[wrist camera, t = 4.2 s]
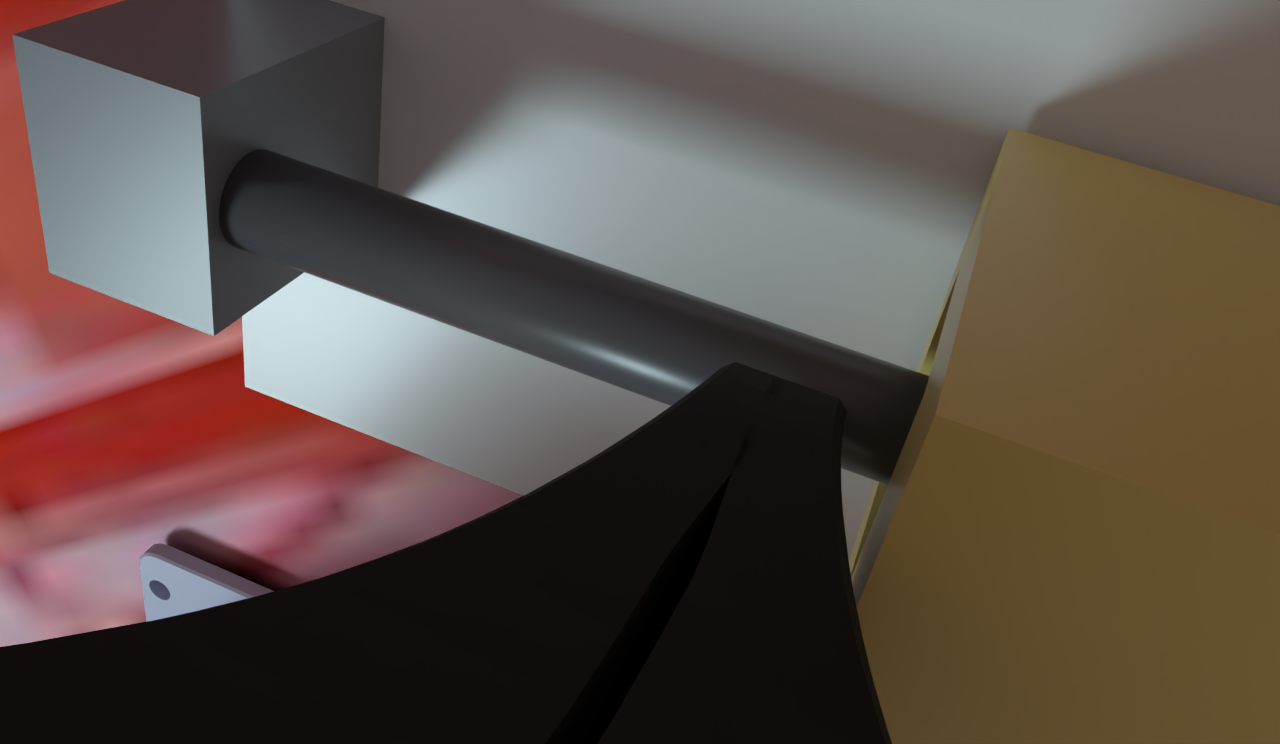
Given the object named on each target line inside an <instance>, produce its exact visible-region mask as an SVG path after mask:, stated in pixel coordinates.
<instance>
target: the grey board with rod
mask: <svg viewBox="0 0 1280 744" xmlns="http://www.w3.org/2000/svg"><path fill="white" fill-rule="evenodd" d="M13 41H14V47H15V53H16V60H17V66H18V73H19V79H20V86H21V92H22V99H23V105H24V111H25V118H26V124H27V131H28V137H29V144H30V150H31V157H32V163H33V170H34V176H35V182H36V189H37V195H38V202H39V208H40V215H41V221H42V228H43V234H44V240H45V247H46V253H47V260H48V266H49V273H52V274H54V275H57V276H59V277H62V278H65V279H67V280H70V281H72V282H75V283H78V284H80V285H83V286H85V287H88V288H91V289H93V290H96V291H98V292H101V293H104V294H106V295H109V296H111V297H114V298H116V299H119V300H122V301H124V302H127V303H129V304H132V305H135V306H137V307H140V308H142V309H145V310H148V311H150V312H153V313H155V314H158V315H161V316H163V317H166V318H168V319H171V320H174V321H176V322H179V323H181V324H184V325H187V326H189V327H192V328H194V329H197V330H200V331H202V332H205V333H207V334H210V335H213V336H215V335H216V334H218V333H219V332H220V331H222V330H223V329H225V328H226V327H227V326H229V325H230V324H232V323H233V322H235V321H236V320H237V319H239V318H240V317H242V323H243V347H244V371H245V387H248V388H250V389H253V390H255V391H258V392H261V393H263V394H266V395H268V396H271V397H273V398H276V399H278V400H281V401H283V402H286V403H288V404H291V405H294V406H296V407H299V408H301V409H304V410H306V411H309V412H311V413H314V414H316V415H319V416H322V417H324V418H327V419H329V420H332V421H334V422H337V423H339V424H342V425H344V426H347V427H349V428H352V429H355V430H357V431H360V432H362V433H365V434H367V435H370V436H372V437H375V438H377V439H380V440H383V441H385V442H388V443H390V444H393V445H395V446H398V447H400V448H403V449H405V450H408V451H410V452H413V453H416V454H418V455H421V456H423V457H426V458H428V459H431V460H433V461H436V462H438V463H441V464H444V465H446V466H449V467H451V468H454V469H456V470H459V471H461V472H464V473H466V474H469V475H471V476H474V477H477V478H479V479H482V480H484V481H487V482H489V483H492V484H494V485H497V486H499V487H502V488H505V489H507V490H510V491H512V492H515V493H517V494H520V495H522V496H524V495H526V494H528V493H530V492H532V491H533V490H535V489H537V488H539V487H541V486H542V485H544V484H546V483H548V482H550V481H551V480H553V479H555V478H557V477H559V476H560V475H562V474H564V473H566V472H568V471H569V470H571V469H573V468H575V467H577V466H578V465H580V464H582V463H584V462H586V461H587V460H589V459H591V458H592V457H594V456H596V455H597V454H599V453H601V452H602V451H604V450H605V449H607V448H609V447H610V446H612V445H613V444H615V443H616V442H618V441H619V440H621V439H623V438H624V437H626V436H627V435H629V434H630V433H632V432H633V431H635V430H637V429H638V428H640V427H641V426H643V425H644V424H646V423H647V422H649V421H650V420H652V419H653V418H655V417H656V416H658V415H659V414H660V413H662V412H663V411H665V410H666V409H668V408H669V407H670V406H672V405H673V404H675V403H676V402H677V401H679V400H680V399H682V398H683V397H684V396H686V395H687V394H688V393H690V392H691V391H692V390H694V389H695V388H696V387H698V386H699V385H700V384H701V383H703V382H704V381H705V380H707V379H708V378H709V377H710V376H712V375H713V374H714V373H715V372H716V371H718V370H719V369H720V368H722V367H724V366H726V365H729V364H731V363H733V362H737V363H740V364H743V365H746V366H749V367H752V368H754V369H757V370H760V371H763V372H766V373H769V374H772V375H774V376H777V377H780V378H783V379H786V380H789V381H792V382H794V383H797V384H800V385H803V386H806V387H809V388H812V389H814V390H817V391H820V392H823V393H826V394H829V395H832V396H834V397H837V398H840V400H841V402H842V403H843V405H844V407H845V409H846V411H847V416H846V419H845V423H844V429H843V436H842V447H841V489H842V505H843V517H844V525H845V534H846V543H847V551H848V560H849V559H850V556H851V553H852V549H853V546H854V543H855V540H856V537H857V533H858V530H859V527H860V524H861V521H862V518H863V514H864V511H865V508H866V505H867V502H868V499H869V495H870V492H871V489H872V486H873V483H874V480H875V481H878V482H881V483H883V484H886V485H888V484H889V482H890V479H891V476H892V474H893V471H894V469H895V466H896V464H897V461H898V459H899V456H900V454H901V451H902V449H903V446H904V444H905V441H906V439H907V436H908V433H909V431H910V428H911V426H912V423H913V421H914V418H915V416H916V413H917V411H918V408H919V406H920V403H921V401H922V398H923V396H924V393H925V390H926V386H927V383H928V379H929V376H928V375H925V374H922V373H919V372H916V369H917V367H918V364H919V362H920V359H921V356H922V354H923V351H924V349H925V346H926V343H927V341H928V338H929V336H930V333H931V330H932V328H933V325H934V323H935V320H936V317H937V315H938V312H939V310H940V307H941V304H942V302H943V299H944V297H945V294H946V291H947V289H948V286H949V284H950V281H951V278H952V276H953V273H954V271H955V268H956V265H957V263H958V260H959V258H960V255H961V252H962V250H963V247H964V245H965V242H966V239H967V237H968V234H969V232H970V229H971V226H972V224H973V221H974V219H975V216H976V213H977V211H978V208H979V206H980V203H981V200H982V198H983V195H984V193H985V190H986V187H987V185H988V182H989V180H990V177H991V174H992V172H993V169H994V167H995V164H996V161H997V159H998V156H999V153H1000V151H1001V148H1002V146H1003V143H1004V140H1005V138H1006V135H1007V133H1008V130H1009V127H1010V128H1013V129H1017V130H1020V131H1023V132H1027V133H1030V134H1034V135H1037V136H1041V137H1044V138H1047V139H1051V140H1054V141H1058V142H1061V143H1065V144H1068V145H1071V146H1075V147H1078V148H1082V149H1085V150H1089V151H1092V152H1095V153H1099V154H1102V155H1106V156H1109V157H1113V158H1116V159H1119V160H1123V161H1126V162H1130V163H1133V164H1137V165H1140V166H1143V167H1147V168H1150V169H1154V170H1157V171H1161V172H1164V173H1167V174H1171V175H1174V176H1178V177H1181V178H1185V179H1188V180H1191V181H1195V182H1198V183H1202V184H1205V185H1209V186H1212V187H1215V188H1219V189H1222V190H1226V191H1229V192H1233V193H1236V194H1239V195H1243V196H1246V197H1250V198H1253V199H1257V200H1260V201H1263V202H1267V203H1270V204H1274V205H1277V206H1280V0H125V1H121V2H118V3H115V4H112V5H108V6H105V7H102V8H98V9H95V10H92V11H89V12H85V13H82V14H79V15H75V16H72V17H69V18H65V19H62V20H59V21H56V22H52V23H49V24H46V25H42V26H39V27H36V28H32V29H29V30H26V31H23V32H19V33H16V34H13Z"/></svg>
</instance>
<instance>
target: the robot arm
mask: <svg viewBox="0 0 1280 744" xmlns="http://www.w3.org/2000/svg"><path fill="white" fill-rule="evenodd" d="M846 416H847V411H846V409H845V407H844V405H843V403H842V402H841V400H840V398H837V397H834V396H832V395H829V394H826V393H823V392H820V391H817V390H814V389H812V388H809V387H806V386H803V385H800V384H797V383H794V382H792V381H789V380H786V379H783V378H780V377H777V376H774V375H772V374H769V373H766V372H763V371H760V370H757V369H754V368H752V367H749V366H746V365H743V364H740V363H737V362H733V363H731V364H729V365H726V366H724V367H722V368H720V369H719V370H718V371H716V372H715V373H714V374H713V375H712V376H710V377H709V378H708V379H707V380H705V381H704V382H703V383H701V384H700V385H699V386H698V387H696V388H695V389H694V390H692V391H691V392H690V393H688V394H687V395H686V396H684V397H683V398H682V399H680V400H679V401H677V402H676V403H675V404H673V405H672V406H670V407H669V408H668V409H666V410H665V411H663V412H662V413H660V414H659V415H658V416H656V417H655V418H653V419H652V420H650V421H649V422H647V423H646V424H644V425H643V426H641V427H640V428H638V429H637V430H635V431H633V432H632V433H630V434H629V435H627V436H626V437H624V438H623V439H621V440H619V441H618V442H616V443H615V444H613V445H612V446H610V447H609V448H607V449H605V450H604V451H602V452H601V453H599V454H597V455H596V456H594V457H592V458H591V459H589V460H587V461H586V462H584V463H582V464H580V465H578V466H577V467H575V468H573V469H571V470H569V471H568V472H566V473H564V474H562V475H560V476H559V477H557V478H555V479H553V480H551V481H550V482H548V483H546V484H544V485H542V486H541V487H539V488H537V489H535V490H533V491H532V492H530V493H528V494H526V495H524V496H522V497H520V498H518V499H516V500H514V501H512V502H510V503H508V504H506V505H504V506H502V507H500V508H498V509H496V510H494V511H492V512H490V513H487V514H485V515H483V516H481V517H479V518H477V519H475V520H472V521H470V522H468V523H465V524H463V525H461V526H459V527H456V528H454V529H452V530H449V531H447V532H445V533H442V534H440V535H438V536H435V537H433V538H431V539H428V540H426V541H423V542H421V543H418V544H415V545H412V546H410V547H407V548H404V549H402V550H399V551H396V552H394V553H391V554H388V555H386V556H383V557H380V558H378V559H375V560H372V561H369V562H366V563H363V564H361V565H358V566H355V567H352V568H349V569H346V570H343V571H340V572H337V573H334V574H331V575H328V576H325V577H323V578H319V579H316V580H313V581H309V582H306V583H302V584H299V585H295V586H292V587H288V588H284V589H281V590H277V591H273V590H270V589H268V588H266V587H263V586H261V585H259V584H257V583H254V582H252V581H250V580H247V579H245V578H243V577H240V576H238V575H236V574H233V573H231V572H229V571H227V570H224V569H222V568H220V567H217V566H215V565H213V564H210V563H208V562H206V561H204V560H201V559H199V558H197V557H194V556H192V555H190V554H187V553H185V552H183V551H180V550H178V549H176V548H174V547H171V546H169V545H165V544H154V545H153V546H152V547H151V548H149V549H148V550H147V551H146V552H145V553H144V554H143V555H142V556H141V557H140V562H139V563H140V572H141V580H142V588H143V596H144V604H145V612H146V620H147V622H142V623H137V624H131V625H126V626H120V627H115V628H109V629H103V630H98V631H92V632H87V633H81V634H76V635H70V636H65V637H59V638H53V639H48V640H42V641H37V642H31V643H25V644H18V645H12V646H5V647H0V744H892V742H891V739H890V736H889V733H888V729H887V726H886V723H885V719H884V716H883V712H882V709H881V706H880V702H879V699H878V695H877V692H876V689H875V685H874V681H873V677H872V673H871V670H870V666H869V662H868V658H867V653H866V649H865V645H864V641H863V636H862V632H861V627H860V622H859V617H858V612H857V607H856V602H855V597H854V592H853V585H852V579H851V573H850V567H849V560H848V551H847V543H846V534H845V525H844V517H843V505H842V489H841V447H842V436H843V429H844V423H845V419H846Z"/></svg>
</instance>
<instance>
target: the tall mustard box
mask: <svg viewBox="0 0 1280 744" xmlns="http://www.w3.org/2000/svg"><path fill="white" fill-rule="evenodd" d="M916 372H919V373H922V374H925V375H928V376H929V379H928V383H927V386H926V390H925V393H924V396H923V398H922V401H921V403H920V406H919V408H918V411H917V413H916V416H915V418H914V421H913V423H912V426H911V428H910V431H909V433H908V436H907V439H906V441H905V444H904V446H903V449H902V451H901V454H900V456H899V459H898V461H897V464H896V466H895V469H894V471H893V474H892V476H891V479H890V482H889V484H888V485H886V484H883V483H881V482H878V481H875V480H874V483H873V486H872V489H871V492H870V495H869V499H868V502H867V505H866V508H865V511H864V514H863V518H862V521H861V524H860V527H859V530H858V533H857V537H856V540H855V543H854V546H853V549H852V553H851V556H850V559H849V567H850V573H851V579H852V585H853V592H854V597H855V602H856V607H857V612H858V617H859V622H860V627H861V632H862V636H863V641H864V645H865V649H866V653H867V658H868V662H869V666H870V670H871V673H872V677H873V681H874V685H875V689H876V692H877V695H878V699H879V702H880V706H881V709H882V712H883V716H884V719H885V723H886V726H887V729H888V733H889V736H890V739H891V742H892V744H1280V206H1277V205H1274V204H1270V203H1267V202H1263V201H1260V200H1257V199H1253V198H1250V197H1246V196H1243V195H1239V194H1236V193H1233V192H1229V191H1226V190H1222V189H1219V188H1215V187H1212V186H1209V185H1205V184H1202V183H1198V182H1195V181H1191V180H1188V179H1185V178H1181V177H1178V176H1174V175H1171V174H1167V173H1164V172H1161V171H1157V170H1154V169H1150V168H1147V167H1143V166H1140V165H1137V164H1133V163H1130V162H1126V161H1123V160H1119V159H1116V158H1113V157H1109V156H1106V155H1102V154H1099V153H1095V152H1092V151H1089V150H1085V149H1082V148H1078V147H1075V146H1071V145H1068V144H1065V143H1061V142H1058V141H1054V140H1051V139H1047V138H1044V137H1041V136H1037V135H1034V134H1030V133H1027V132H1023V131H1020V130H1017V129H1013V128H1010V127H1009V130H1008V133H1007V135H1006V138H1005V140H1004V143H1003V146H1002V148H1001V151H1000V153H999V156H998V159H997V161H996V164H995V167H994V169H993V172H992V174H991V177H990V180H989V182H988V185H987V187H986V190H985V193H984V195H983V198H982V200H981V203H980V206H979V208H978V211H977V213H976V216H975V219H974V221H973V224H972V226H971V229H970V232H969V234H968V237H967V239H966V242H965V245H964V247H963V250H962V252H961V255H960V258H959V260H958V263H957V265H956V268H955V271H954V273H953V276H952V278H951V281H950V284H949V286H948V289H947V291H946V294H945V297H944V299H943V302H942V304H941V307H940V310H939V312H938V315H937V317H936V320H935V323H934V325H933V328H932V330H931V333H930V336H929V338H928V341H927V343H926V346H925V349H924V351H923V354H922V356H921V359H920V362H919V364H918V367H917V369H916Z"/></svg>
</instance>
